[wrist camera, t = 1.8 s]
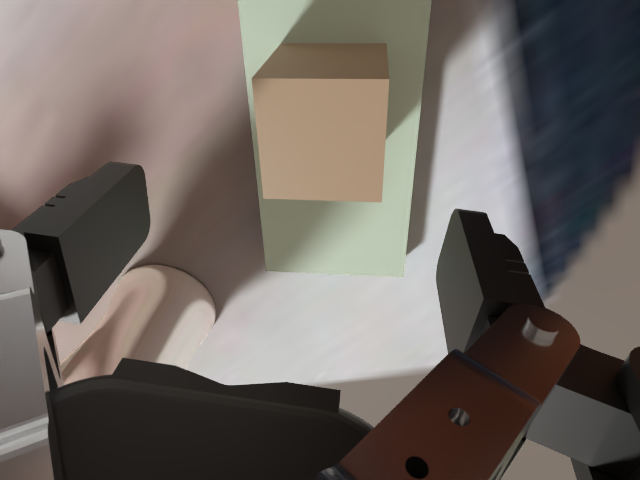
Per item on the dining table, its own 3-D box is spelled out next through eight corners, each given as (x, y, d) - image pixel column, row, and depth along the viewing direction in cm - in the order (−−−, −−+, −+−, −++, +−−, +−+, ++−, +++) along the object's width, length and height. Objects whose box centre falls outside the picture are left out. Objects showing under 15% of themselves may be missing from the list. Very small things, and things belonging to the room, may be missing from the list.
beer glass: (88, 267, 27) (-151, 550, 15) (195, 247, 26) (25, 547, 13) (144, 350, 31) (-13, 633, 18) (240, 337, 29) (139, 638, 17)
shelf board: (233, -191, 16) (149, -259, 10) (445, -201, 15) (487, -281, 9) (273, 248, 26) (243, 342, 20) (401, 254, 25) (409, 352, 19)
